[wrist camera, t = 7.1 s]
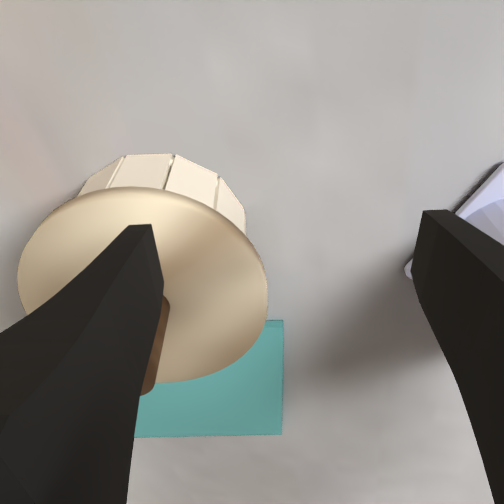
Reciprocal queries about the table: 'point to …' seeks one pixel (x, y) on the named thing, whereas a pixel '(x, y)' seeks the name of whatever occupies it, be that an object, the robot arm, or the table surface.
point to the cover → (173, 269)
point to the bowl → (170, 181)
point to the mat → (222, 397)
